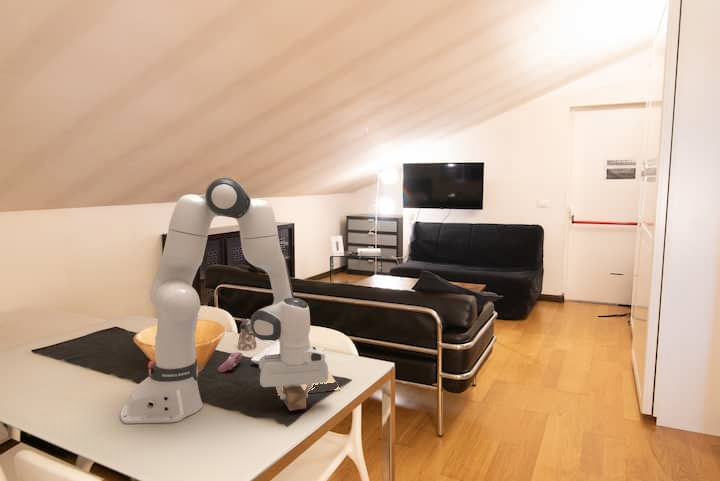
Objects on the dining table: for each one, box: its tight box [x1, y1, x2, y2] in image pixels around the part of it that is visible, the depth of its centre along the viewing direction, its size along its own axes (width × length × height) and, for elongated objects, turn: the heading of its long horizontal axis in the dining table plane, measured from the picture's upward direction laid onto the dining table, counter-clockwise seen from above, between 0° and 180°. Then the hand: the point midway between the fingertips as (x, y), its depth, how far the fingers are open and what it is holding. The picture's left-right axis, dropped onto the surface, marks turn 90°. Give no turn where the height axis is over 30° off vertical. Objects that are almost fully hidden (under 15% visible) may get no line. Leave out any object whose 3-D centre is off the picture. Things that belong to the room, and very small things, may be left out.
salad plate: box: [250, 341, 325, 365], centre depth 194 cm, size 21×21×3 cm
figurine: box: [237, 317, 257, 352], centre depth 206 cm, size 7×7×12 cm
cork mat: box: [274, 370, 341, 397], centre depth 173 cm, size 20×16×1 cm
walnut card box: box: [282, 385, 307, 412], centre depth 154 cm, size 5×8×5 cm, turn 22°
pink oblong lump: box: [217, 351, 243, 373], centre depth 185 cm, size 10×5×7 cm, turn 169°
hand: (294, 397), depth 155 cm, fingers closed on walnut card box, 5 cm apart
